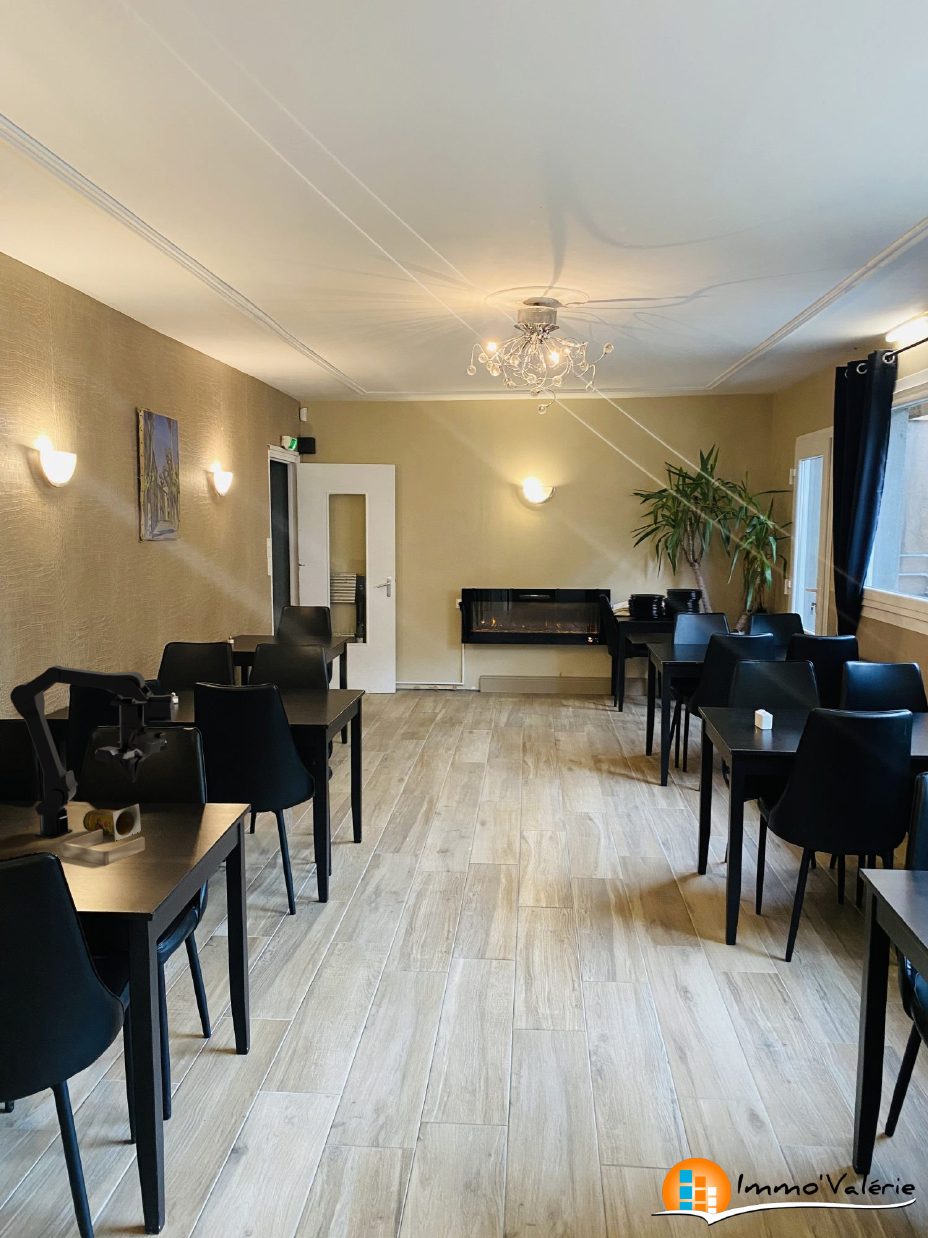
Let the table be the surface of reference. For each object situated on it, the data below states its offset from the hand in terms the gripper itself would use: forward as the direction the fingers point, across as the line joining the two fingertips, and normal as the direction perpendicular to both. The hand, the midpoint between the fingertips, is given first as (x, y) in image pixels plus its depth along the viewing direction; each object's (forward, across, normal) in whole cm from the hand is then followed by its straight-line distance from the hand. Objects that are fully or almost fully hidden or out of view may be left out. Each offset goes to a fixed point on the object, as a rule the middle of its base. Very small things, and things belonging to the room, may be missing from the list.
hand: (132, 782), depth 229 cm
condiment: (+9, -4, -3) cm, 10 cm away
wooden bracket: (+13, -15, -7) cm, 21 cm away
